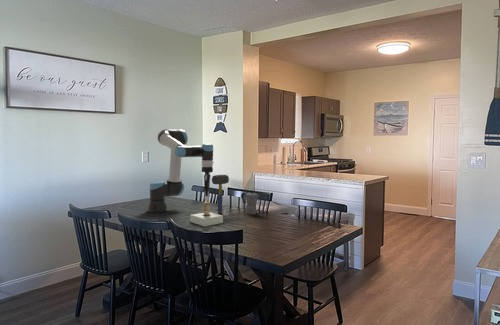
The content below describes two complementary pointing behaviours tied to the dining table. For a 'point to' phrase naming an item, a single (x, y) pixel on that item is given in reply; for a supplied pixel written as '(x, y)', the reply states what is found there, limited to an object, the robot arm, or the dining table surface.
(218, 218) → the socket block
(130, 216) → the dining table surface
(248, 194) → the coffeepot
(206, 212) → the beech peg
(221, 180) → the rubber mallet
